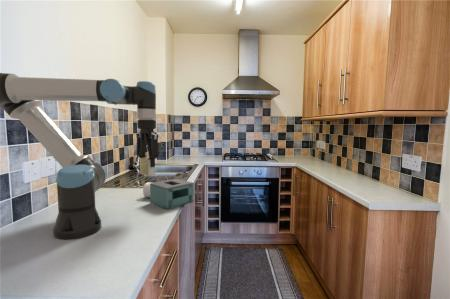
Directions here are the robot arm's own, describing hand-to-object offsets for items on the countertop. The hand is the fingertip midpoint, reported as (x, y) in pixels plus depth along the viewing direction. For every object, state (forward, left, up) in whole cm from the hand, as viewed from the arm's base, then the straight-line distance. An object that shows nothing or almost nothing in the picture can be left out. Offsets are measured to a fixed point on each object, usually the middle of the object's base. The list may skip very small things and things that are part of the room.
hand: (147, 173), depth 109 cm
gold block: (0, 0, 0) cm, 0 cm away
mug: (+18, +21, -18) cm, 33 cm away
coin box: (+17, +6, -18) cm, 26 cm away
